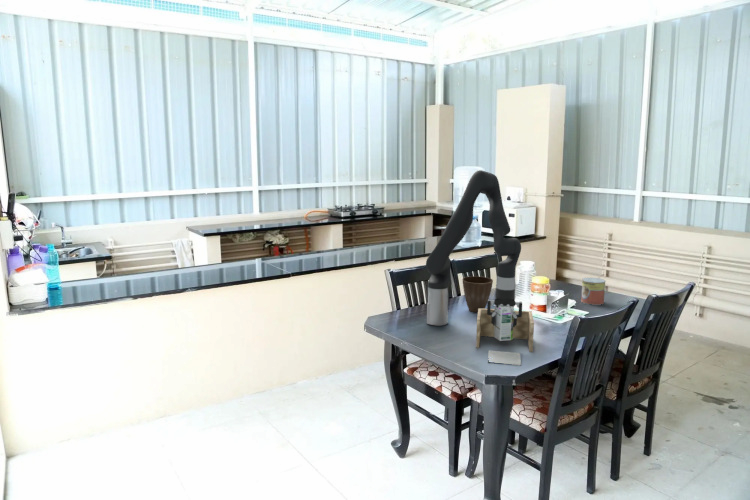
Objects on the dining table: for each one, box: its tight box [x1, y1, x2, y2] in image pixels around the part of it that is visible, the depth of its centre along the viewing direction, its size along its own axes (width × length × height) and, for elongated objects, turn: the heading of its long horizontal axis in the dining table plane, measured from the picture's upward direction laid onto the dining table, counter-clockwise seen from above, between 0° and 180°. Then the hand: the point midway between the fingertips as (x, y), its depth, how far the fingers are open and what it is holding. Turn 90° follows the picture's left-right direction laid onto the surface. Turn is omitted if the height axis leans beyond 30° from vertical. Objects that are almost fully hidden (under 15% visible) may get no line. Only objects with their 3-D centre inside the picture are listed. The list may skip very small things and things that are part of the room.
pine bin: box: [475, 308, 535, 353], centre depth 216 cm, size 22×16×12 cm
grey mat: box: [487, 350, 522, 367], centre depth 201 cm, size 12×12×1 cm
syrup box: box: [493, 304, 515, 342], centre depth 215 cm, size 6×6×14 cm
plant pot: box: [461, 275, 494, 313], centre depth 262 cm, size 15×15×16 cm
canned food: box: [580, 277, 606, 306], centre depth 276 cm, size 11×11×12 cm
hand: (503, 325), depth 215 cm, fingers closed on syrup box, 7 cm apart
